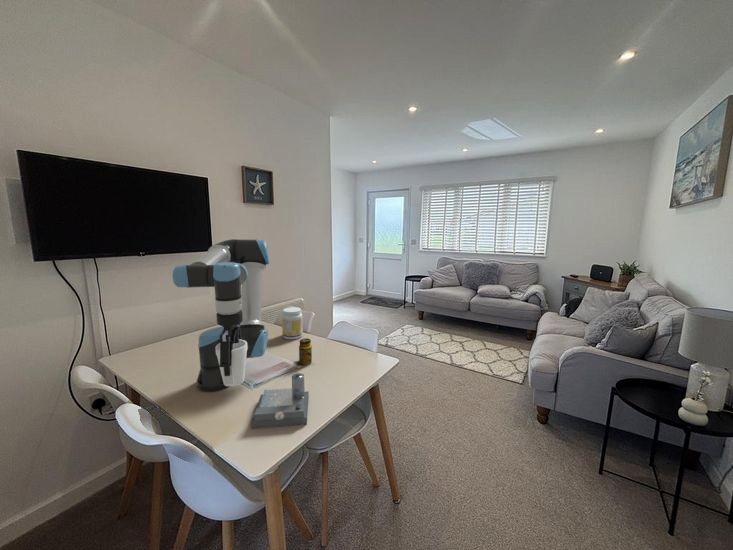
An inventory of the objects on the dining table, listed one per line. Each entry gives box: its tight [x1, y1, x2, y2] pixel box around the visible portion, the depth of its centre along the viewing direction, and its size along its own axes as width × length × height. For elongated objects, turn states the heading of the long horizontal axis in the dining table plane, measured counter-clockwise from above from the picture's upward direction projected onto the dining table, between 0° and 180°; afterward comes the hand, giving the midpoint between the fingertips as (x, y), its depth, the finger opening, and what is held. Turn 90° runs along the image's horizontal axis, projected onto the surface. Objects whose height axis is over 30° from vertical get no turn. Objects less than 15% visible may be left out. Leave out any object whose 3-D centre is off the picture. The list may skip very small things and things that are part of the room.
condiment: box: [292, 337, 315, 369], centre depth 143 cm, size 7×8×12 cm
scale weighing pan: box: [259, 387, 306, 408], centre depth 108 cm, size 15×11×2 cm
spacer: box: [291, 372, 305, 400], centre depth 108 cm, size 4×4×8 cm
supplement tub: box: [281, 306, 304, 340], centre depth 177 cm, size 12×12×17 cm
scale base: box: [251, 390, 310, 430], centre depth 106 cm, size 18×16×6 cm
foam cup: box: [215, 339, 248, 387], centre depth 97 cm, size 10×9×13 cm
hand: (233, 375), depth 98 cm, fingers closed on foam cup, 9 cm apart
